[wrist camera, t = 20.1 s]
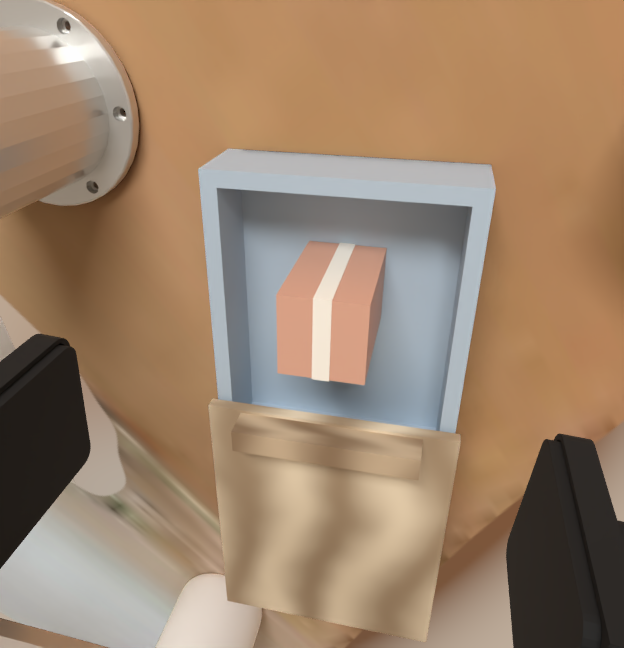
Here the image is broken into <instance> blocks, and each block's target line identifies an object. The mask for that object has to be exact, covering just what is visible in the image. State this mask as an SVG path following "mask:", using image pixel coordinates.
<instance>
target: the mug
mask: <svg viewBox="0 0 624 648" xmlns="http://www.w3.org/2000/svg"><path fill="white" fill-rule="evenodd" d="M261 619H262V608H259V607H255V606H250V605H245V604H240V603H235V602H231V601H227V592H226V582H225V575H222V574H215V573H208V574H201V575H198V576H196V577H194V578H192V579H191V580H190V581H188V582H187V584H186V585H185V586H184V588H183V590H182V592H181V593H180V595H179V597H178V600H177V602H176V604H175V606H174V608H173V610H172V613H171V615H170V617H169V619H168V621H167V623H166V625H165V628H164V630H163V632H162V634H161V636H160V638H159V640H158V643H157V645H156V647H155V648H253V646H254V643H255V640H256V637H257V634H258V630H259V627H260V623H261Z"/></svg>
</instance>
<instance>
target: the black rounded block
mask: <svg viewBox="0 0 624 648" xmlns="http://www.w3.org/2000/svg"><path fill="white" fill-rule="evenodd" d="M14 350H15V348H14V345H13V343H12V341H11V338H10V336H9V334H8V332H7V330H6V327H5V325H4V323H3V321H2V318H1V316H0V362H1V361H2V360H3V359H4V358H6V357H7V356H8V355H9V354H11V353H12V352H13V351H14ZM70 482H72V483H73V484H75V482H74V479H72V480H71V481H70ZM75 485H76V484H75Z"/></svg>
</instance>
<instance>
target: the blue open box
mask: <svg viewBox="0 0 624 648" xmlns="http://www.w3.org/2000/svg"><path fill="white" fill-rule="evenodd" d="M198 171H199V183H200V194H201V206H202V217H203V229H204V240H205V252H206V263H207V275H208V286H209V298H210V309H211V321H212V332H213V344H214V355H215V366H216V378H217V389H218V399H219V400H226V401H233V402H240V403H247V404H254V405H261V406H268V407H275V408H282V409H289V410H296V411H303V412H310V413H317V414H324V415H331V416H338V417H345V418H352V419H359V420H365V421H372V422H379V423H386V424H393V425H400V426H407V427H414V428H421V429H428V430H435V431H442V432H449V433H455V432H456V426H457V420H458V414H459V408H460V402H461V396H462V390H463V384H464V378H465V372H466V366H467V360H468V354H469V348H470V342H471V336H472V330H473V324H474V318H475V312H476V306H477V300H478V294H479V288H480V281H481V275H482V269H483V263H484V257H485V251H486V245H487V239H488V233H489V227H490V221H491V215H492V209H493V203H494V197H495V191H496V187H495V182H494V177H493V172H492V166H491V165H488V164H472V163H455V162H439V161H422V160H406V159H389V158H373V157H357V156H340V155H324V154H307V153H291V152H274V151H258V150H241V149H227V150H226V151H224V152H223V153H221V154H220V155H218V156H217V157H215V158H214V159H212V160H211V161H209V162H208V163H206V164H205V165H203V166H202V167H200V168H199V169H198ZM309 241H318V242H328V243H350V244H355V245H360V246H370V247H381V248H387V251H386V263H385V275H384V287H383V299H382V311H381V319H380V324H379V328H378V332H377V336H376V340H375V344H374V348H373V353H372V357H371V361H370V365H369V369H368V373H367V377H366V382H365V385H359V384H351V383H344V382H337V381H330V380H329V382H328V381H321V380H313V379H312V378H308V377H301V376H293V375H286V374H279V373H277V315H276V294H277V293H278V291H279V289H280V288H281V286H282V284H283V283H284V281H285V280H286V278H287V276H288V275H289V273H290V271H291V270H292V268H293V266H294V265H295V263H296V261H297V260H298V258H299V257H300V255H301V253H302V252H303V250H304V248H305V247H306V245H307V243H308V242H309Z"/></svg>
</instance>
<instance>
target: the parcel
mask: <svg viewBox="0 0 624 648" xmlns="http://www.w3.org/2000/svg"><path fill="white" fill-rule="evenodd" d="M386 251H387V248H381V247H370V246H360V245H355V244H350V243H328V242H318V241H309V242H308V243H307V245H306V247H305V248H304V250H303V252H302V253H301V255H300V257H299V258H298V260H297V261H296V263H295V265H294V266H293V268H292V270H291V271H290V273H289V275H288V276H287V278H286V280H285V281H284V283H283V284H282V286H281V288H280V289H279V291H278V293H277V294H276V315H277V373H279V374H286V375H293V376H301V377H308V378H312V379H313V380H321V381H328V382H329V380H330V381H337V382H344V383H351V384H359V385H365V382H366V377H367V373H368V369H369V365H370V361H371V357H372V353H373V348H374V344H375V340H376V336H377V332H378V328H379V324H380V319H381V311H382V299H383V287H384V275H385V263H386Z"/></svg>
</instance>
